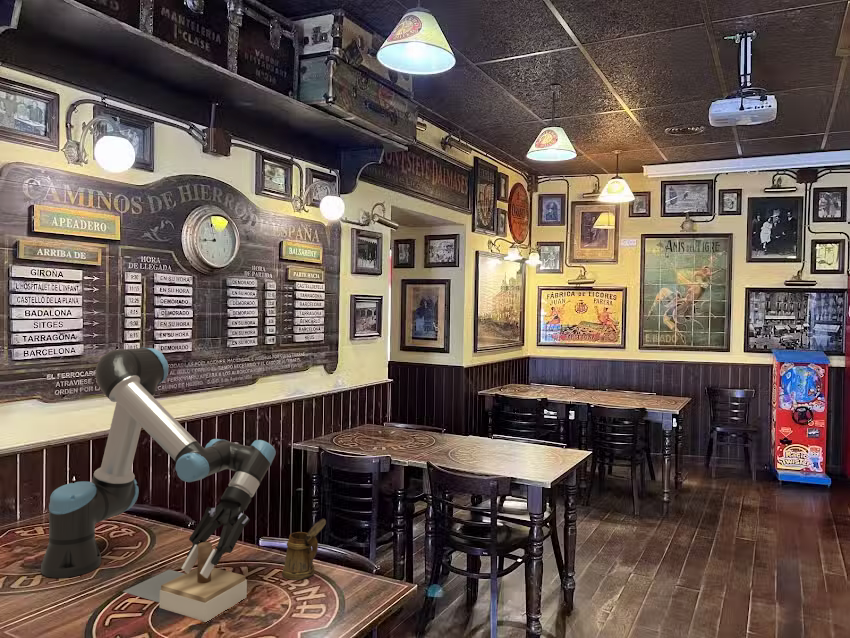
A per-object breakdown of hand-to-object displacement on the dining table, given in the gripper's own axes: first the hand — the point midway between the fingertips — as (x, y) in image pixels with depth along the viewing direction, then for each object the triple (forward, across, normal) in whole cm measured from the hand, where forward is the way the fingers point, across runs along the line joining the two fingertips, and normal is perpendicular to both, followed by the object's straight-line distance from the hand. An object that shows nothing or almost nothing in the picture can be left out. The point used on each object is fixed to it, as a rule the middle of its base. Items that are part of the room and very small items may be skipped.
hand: (194, 573), depth 159 cm
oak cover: (+1, 0, -6) cm, 6 cm away
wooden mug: (-14, -12, -28) cm, 34 cm away
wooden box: (+4, 0, -9) cm, 10 cm away
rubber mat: (+2, +16, -11) cm, 19 cm away
